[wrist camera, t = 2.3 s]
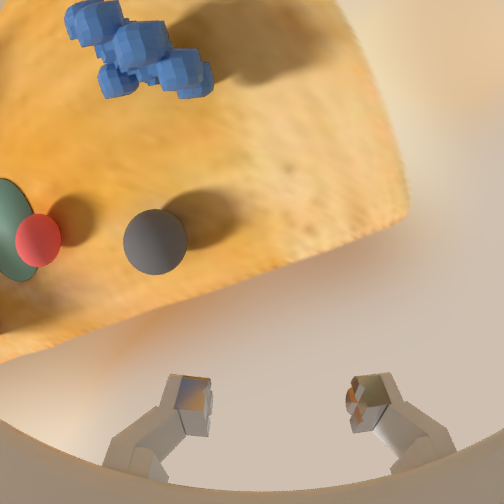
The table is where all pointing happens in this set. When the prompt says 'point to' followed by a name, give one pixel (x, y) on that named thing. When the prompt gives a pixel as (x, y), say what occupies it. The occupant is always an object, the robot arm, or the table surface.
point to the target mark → (12, 231)
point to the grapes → (136, 52)
